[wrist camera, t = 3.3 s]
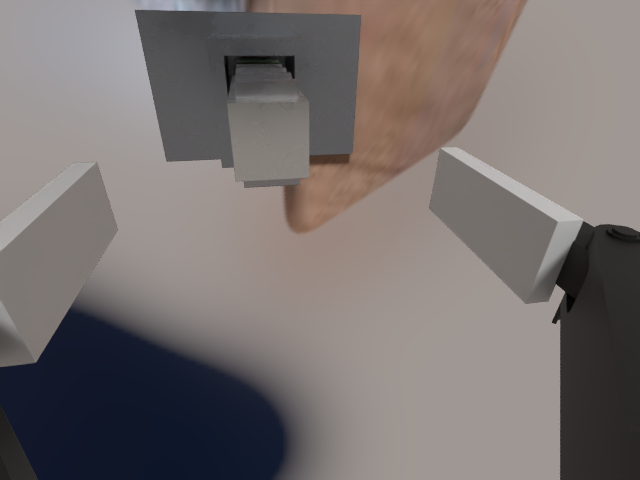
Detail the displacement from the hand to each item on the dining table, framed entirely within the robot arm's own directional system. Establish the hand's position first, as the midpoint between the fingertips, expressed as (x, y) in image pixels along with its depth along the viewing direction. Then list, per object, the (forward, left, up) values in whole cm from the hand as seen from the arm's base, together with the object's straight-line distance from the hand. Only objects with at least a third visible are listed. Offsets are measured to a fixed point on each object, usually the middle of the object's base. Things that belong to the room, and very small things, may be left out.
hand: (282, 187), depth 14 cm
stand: (0, 0, -23) cm, 23 cm away
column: (0, 0, -21) cm, 21 cm away
